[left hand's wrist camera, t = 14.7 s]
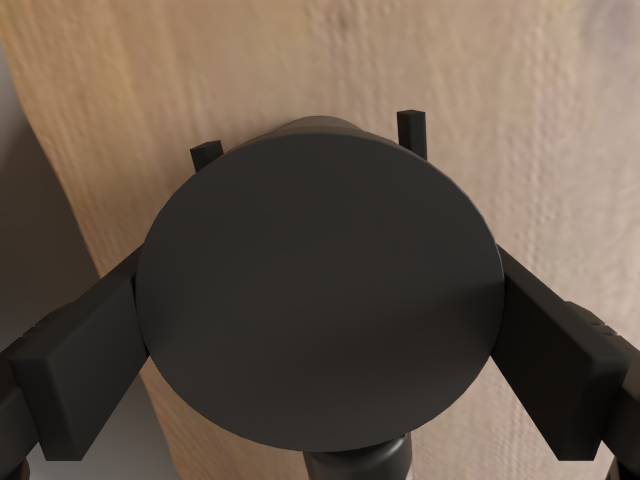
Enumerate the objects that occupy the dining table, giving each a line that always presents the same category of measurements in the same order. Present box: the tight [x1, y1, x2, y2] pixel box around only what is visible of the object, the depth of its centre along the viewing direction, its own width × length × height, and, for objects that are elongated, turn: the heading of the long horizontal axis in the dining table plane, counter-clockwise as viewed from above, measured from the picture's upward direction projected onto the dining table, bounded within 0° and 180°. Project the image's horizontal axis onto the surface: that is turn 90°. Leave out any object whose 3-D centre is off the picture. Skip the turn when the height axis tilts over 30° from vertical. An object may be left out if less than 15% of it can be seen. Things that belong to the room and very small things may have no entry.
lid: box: [135, 126, 505, 452], centre depth 11 cm, size 10×10×2 cm
